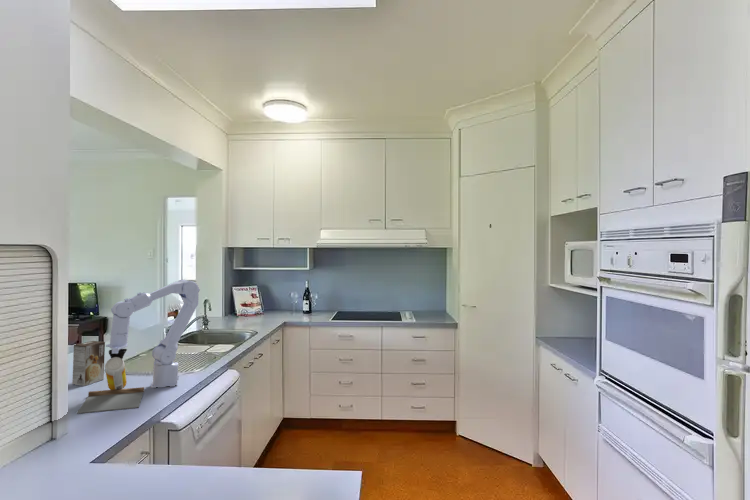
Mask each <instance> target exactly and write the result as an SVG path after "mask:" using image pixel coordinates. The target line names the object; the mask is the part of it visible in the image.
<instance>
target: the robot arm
mask: <svg viewBox="0 0 750 500" xmlns="http://www.w3.org/2000/svg"><path fill="white" fill-rule="evenodd" d="M200 290H201V289H200V287H199V285H198V284H197V282H195V281H194V280H187V279H180V280H177V281H173V282H171V283H169V284H167V285H165V286H162V287H160V288H158V289H156V290H154V291H151V292H150V293H147V292H137V293H136V295H134V296H132V297H130V298H128V297H126V298H125V299H124V301H117V302H115V303H114V304H112V307H111V308H110V311H111V313H112V314H113V315H112V321H111V329H110V341H109V343H106V344H105V348H110V349H109V350H108V355H109V356H110V359H111V358H114V357H118V358H121V359H122V360H124V356H125V353H126V352H127V351H128V349H127V348H128V346H129V344H128V342H129V341H128V338H129V329H130V318H131V316H132V314H133V313H136V312H139V311H140V310H142V309H145V308H148V307H149V306H151V304H152V303H153V301H155V300H158V299H161V298H164V297H166V296H169V295H171V294H177V295H179V296H180V298H181V300H182V302H183V304H182V306H181V308H180V309H179V311H178V313H177V315H176V317H175V319H174V321H173V323H172V325H171V326H170V328H169V330H168V332H167V334H166V335H165V337H164V338H163V339H162V340H160V342H159V343H158V344H157V346H155V347H154V348H153V349H152V352H151V355H152V357H153V359H154V361H153V370H152V374H153V375H152V381H151V385H150V388H151V389H155V388H156V387H158V388H166V387H165V386H170V387H176V386H175V385H177V386H178V381H179V377H180V376H179V374H178V373H179V362H177V361H176V362H174V361H175V359H176V357H177V351H178V349H179V346H178V345H179V344H178V343H179V341H180V339H181V337H182V335H183V333H184V332H185V330H186V328H187V326H188V324H189V322H190V320H191V319H192V317H193V315H194V313H195V311H196V309H197V308H198V306H199V292H200ZM156 389H157V388H156Z"/></svg>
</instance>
